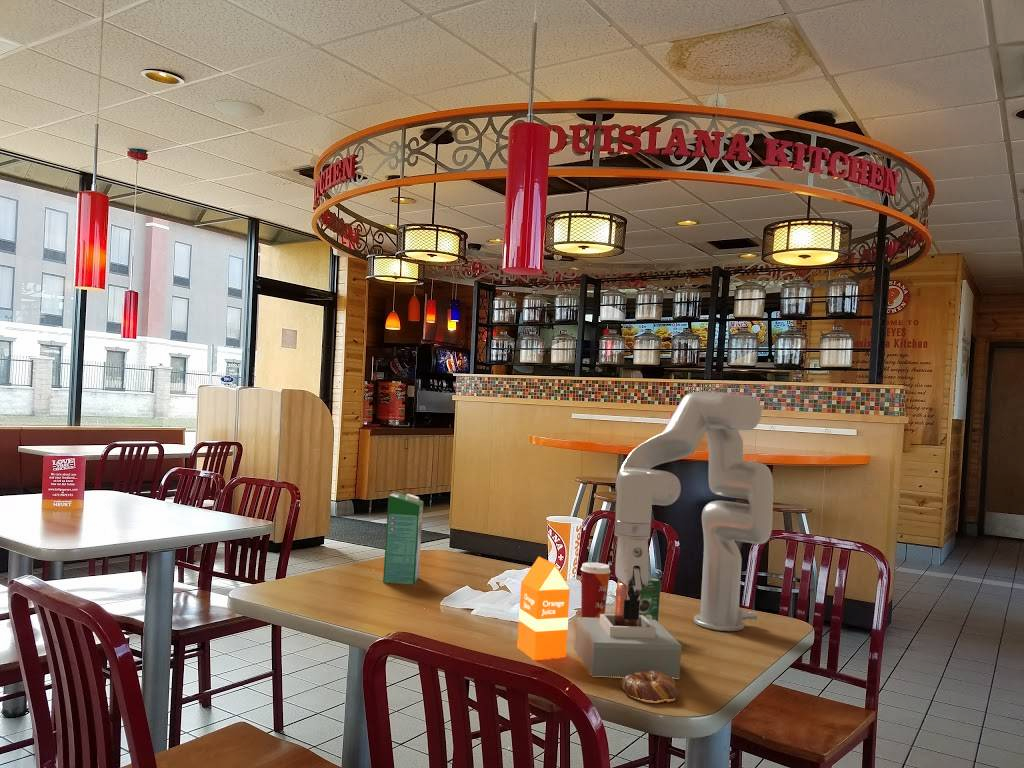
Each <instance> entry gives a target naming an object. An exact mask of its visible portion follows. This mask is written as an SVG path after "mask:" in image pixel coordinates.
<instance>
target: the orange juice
mask: <svg viewBox="0 0 1024 768" xmlns="http://www.w3.org/2000/svg"><path fill="white" fill-rule="evenodd" d="M520 583H521V584H520V595H519V597H520V600H519V612H518V629H517V630H518V633H517V647H516V648H517V649H519V650H520V651H522V652H523V653H524V654H525V655H526V656H528V657H529V658H530V659H532V660H533V661H540V660H541V661H542V660H552V659H551V658H555V659H562V658H561V657H566V655H567V640H568V630H569V629H568V628H569V606H570V592H571V591H570V590H571V589H570V587H569V585H568V584H567V581H565V578H564V577H563V575H562V574H561V571H560V570H559V568H558V566H557V564H556V563H554V562H551V561H549V560H547V559H545V558H543V557H541V556H538V557H537V558H536V560H535V561H534V563H533V564H532V566H531V568H530V569H529V570H528V572H527V573H526V574H525V576H524V577H523V579H522V580H521V582H520ZM566 658H567V657H566Z"/></svg>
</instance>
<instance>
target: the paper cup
mask: <svg viewBox="0 0 1024 768" xmlns="http://www.w3.org/2000/svg"><path fill="white" fill-rule="evenodd" d="M580 570H581V593H580V594H581V596H580V597H581V603H580V604H581V605H580V606H581V610H580V611H581V612H580V613H581V614H580V615H581V617H588V618H600V614H606V606H607V598H608V590H609V589H608V588H609V580H610V574H611V573H612V570H610V566H609V564H606V563H602V562H593V561H592V562H591V561H590V562H589V561H588V562H583V563H582V565H581V567H580Z"/></svg>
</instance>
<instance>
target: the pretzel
mask: <svg viewBox="0 0 1024 768" xmlns="http://www.w3.org/2000/svg"><path fill="white" fill-rule="evenodd" d="M621 679H622V680H621V681H620V686H621V689H623V690H624V691H625V692H624V691H623V690H622V691H623V692H624V693H625V694H626V695H627V694H628V695H630V696H633V697H636V698H640V699H645V700H653V701H657V700H662V699H663V700H664V699H674V698H676V697H677V696H679V691H678V690H677V688H676V680H674V679H673V678H672V677H670V676H669V675H665V674H664V673H662V672H661V671H658V670H649V671H647V672H643V671H642V672H641V671H640V672H638V671H637V672H635V673H633V674H629V675H626V676H625V677H624V678H621ZM628 695H627V696H628ZM677 698H678V697H677Z"/></svg>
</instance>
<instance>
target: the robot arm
mask: <svg viewBox="0 0 1024 768" xmlns="http://www.w3.org/2000/svg"><path fill="white" fill-rule="evenodd" d="M761 418H762V407H761V404H760V401H759V400H758V399H757V398H756V397H754V396H753V395H747V394H746V395H745V394H736V393H730V392H729V393H728V392H711V391H693V392H692V391H691V392H690V393H687V394H686V395H684V396H683V397H682V398H681V400H680V401H679V404H678V405H677V407H676V409H675V410H674V411H673V414H672V415H671V417H670V418H669V421H668V422H667V424H666V425H665V427H664V430H663V431H662V432H660V433H658V434H655V435H654V436H651V438H649V439H647V440H645V441H643V442H642V443H640V444H639V445H637V446H636V447H635V448H633V449H632V451H631V452H630V453H629V454H628V455H627V457H626V459H625V460H624V462H623V463H622V465H621V467H620V468H619V471H618V473H617V475H616V480H615V491H616V503H615V504H616V505H615V523H614V536H615V537H617V543H616V553H615V564H614V565H615V569H614V570H615V573H614V575H615V577H616V578H617V579H618V581H621V582H622V583H623V584H625V585H626V600H624V611H623V618H624V619H625V620H638V619H639V605H640V593H641V590H642V587H641V585H642V586H643V587H646V586H647V585H648V579H649V543H648V540H650V538H651V531H652V529H651V527H652V526H651V525H652V511H653V509H652V508H653V505H656V506H664V507H665V506H670V505H673V504H674V503H675V502H676V501H677V500H678V498H679V497H680V496H681V491H682V489H681V486H682V485H681V482H680V479H679V478H678V477H677V475H675V474H674V473H672V472H669V471H666V470H661V469H660V470H659V469H658V470H657V469H653V468H654V467H656V466H659V465H661V464H665V463H669V462H673V461H677V460H678V461H679V460H681V459H684V458H687V457H690V456H691V455H693V454H694V453H695V451H696V450H697V448H698V446H699V445H700V442H701V441H702V439H703V437H704V435H706V438H707V441H708V486H709V487H708V488H709V489H710V491H711V493H713V494H715V495H718V496H722V497H727V498H734V499H742V500H747V501H748V502H749V503H740V502H736V501H735V502H734V501H729V500H714V501H710V502H708V503H707V504H705V506H704V507H703V509H702V512H701V525H702V534H703V559H702V577H701V578H702V580H701V591H700V593H701V595H700V612H699V613H698V614H695V615H694V616H693V623H695V625H698V626H700V627H703V628H705V629H709V630H710V629H711V630H713V631H722V632H723V631H724V632H736V631H742V630H743V629H744V628H745V622H744V621H745V620H749V621H750V620H753V621H754V620H755V621H756V620H757V619H758V613H757V612H756V611H749V610H745V609H744V610H743V609H742V608H740V598H741V597H740V594H741V580H742V579H741V577H742V576H741V575H742V560H743V559H742V555H741V551H740V549H739V547H738V545H737V543H736V541H737V542H741V543H742V542H743V543H750V544H754V545H755V544H756V545H757V544H758V545H763V544H765V543H767V542H768V541H769V540H770V537H771V535H772V532H773V531H772V530H773V518H774V516H773V514H774V513H773V512H774V510H773V509H774V478H773V475H772V472H771V469H770V468H769V467H768V466H767V465H766V464H765V463H761V462H756V461H747V460H745V459H744V442H743V437H742V434H740V431H752V430H754V429H755V428H756V427H757V426H758V425H759V423H760V422H761ZM629 582H634V585H629V584H630V583H629ZM630 588H633V589H631V591H630Z"/></svg>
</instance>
